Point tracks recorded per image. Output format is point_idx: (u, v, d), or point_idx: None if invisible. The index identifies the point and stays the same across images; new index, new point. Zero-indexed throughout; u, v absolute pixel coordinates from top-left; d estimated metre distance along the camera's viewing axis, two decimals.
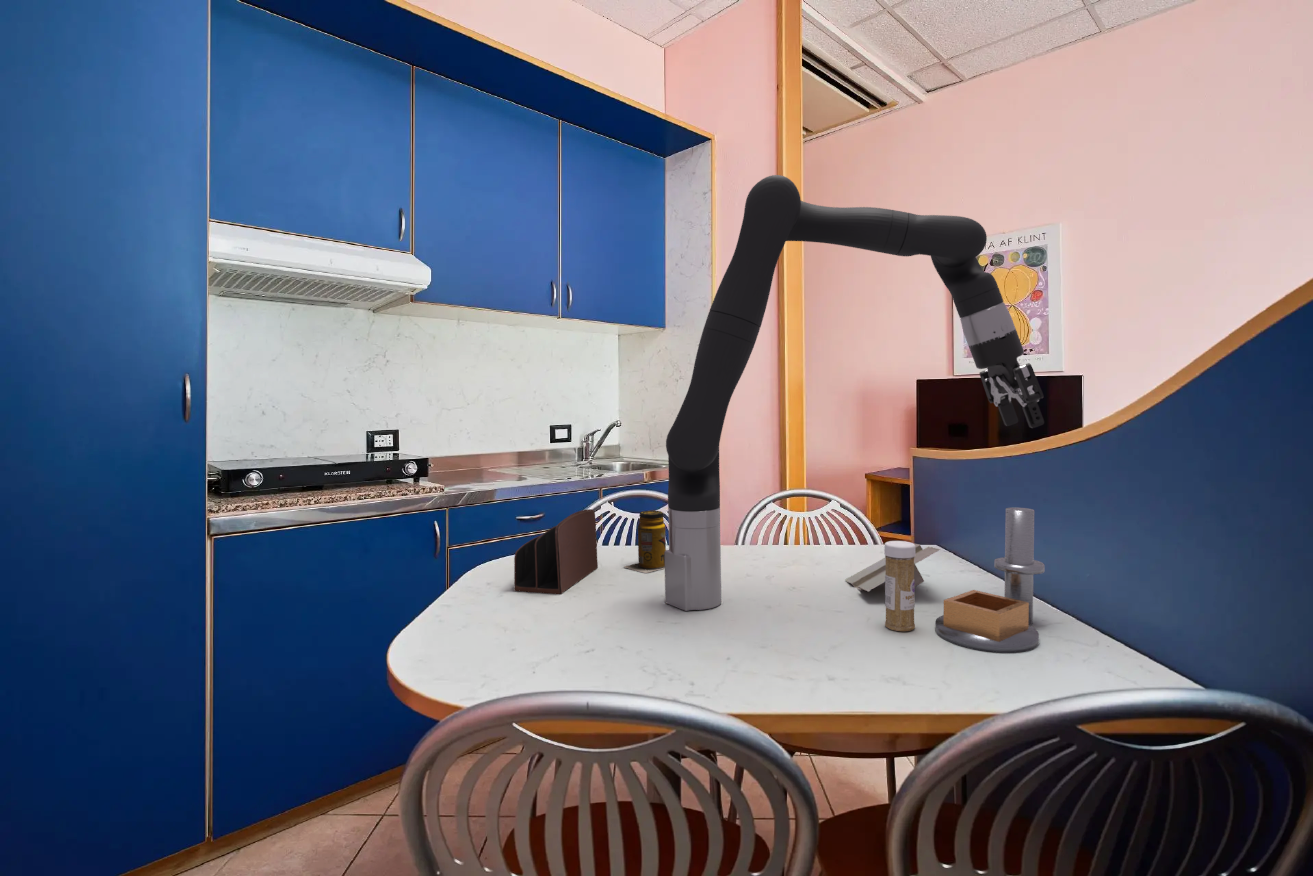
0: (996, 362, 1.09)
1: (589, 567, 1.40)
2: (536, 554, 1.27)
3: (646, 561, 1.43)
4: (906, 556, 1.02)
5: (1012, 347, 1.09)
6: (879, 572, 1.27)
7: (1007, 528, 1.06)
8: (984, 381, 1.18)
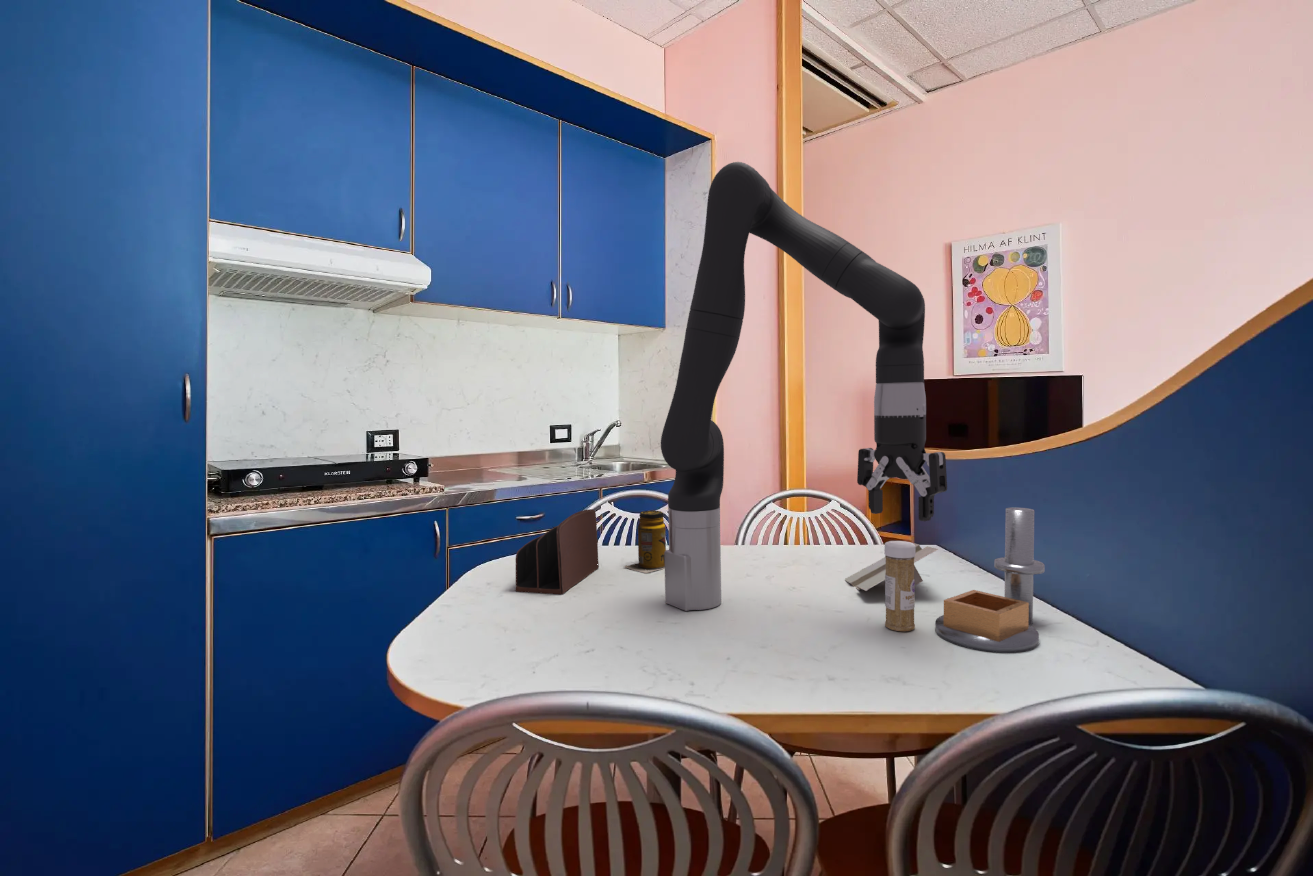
0: (909, 441, 0.99)
1: (590, 567, 1.40)
2: (537, 554, 1.27)
3: (646, 561, 1.43)
4: (906, 556, 1.02)
5: (924, 431, 1.00)
6: (878, 572, 1.27)
7: (1007, 528, 1.06)
8: (863, 459, 1.07)
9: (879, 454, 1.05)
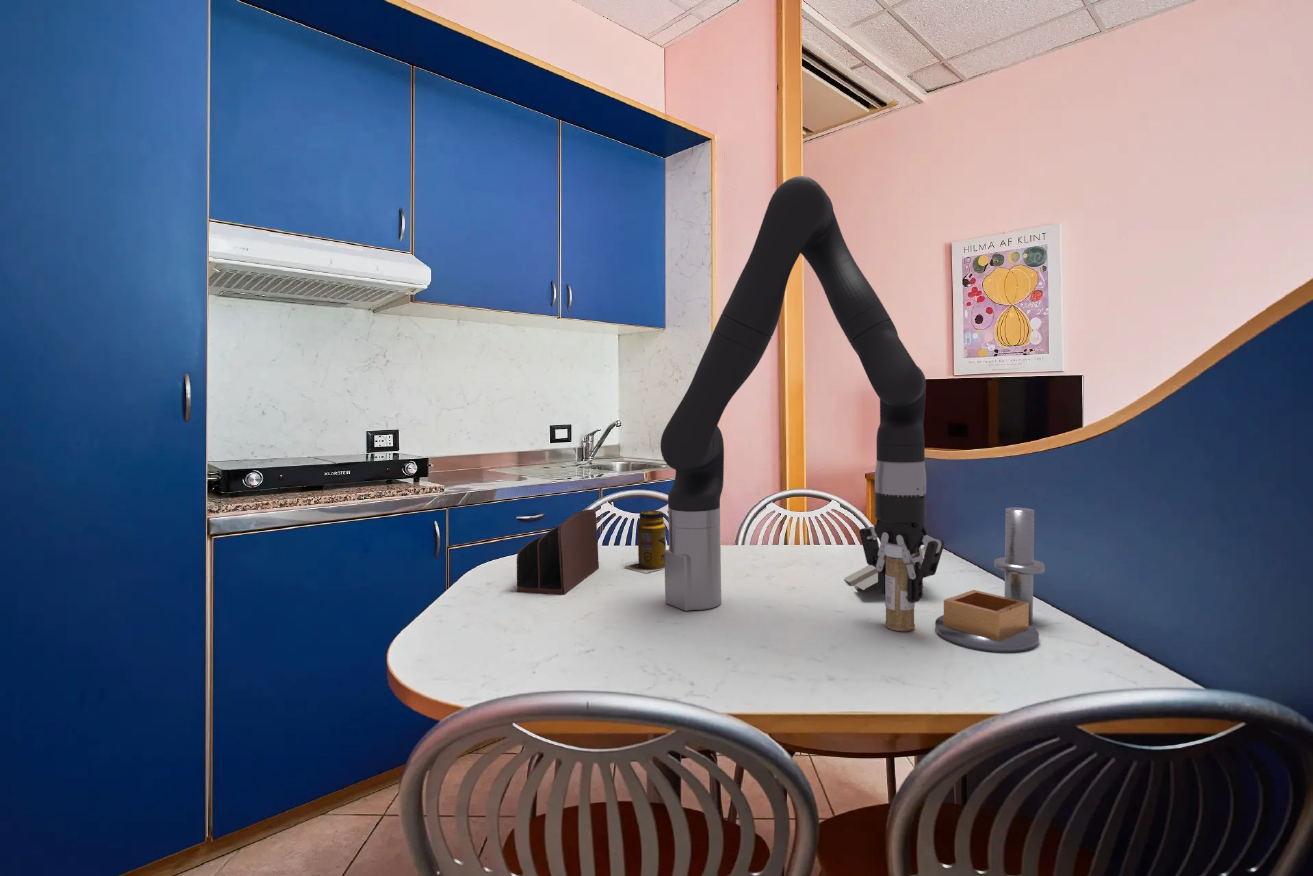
0: (910, 521, 1.00)
1: (591, 567, 1.40)
2: (538, 554, 1.26)
3: (646, 561, 1.43)
4: None
5: (924, 509, 1.01)
6: (877, 571, 1.28)
7: (1007, 528, 1.06)
8: (866, 539, 1.08)
9: (879, 529, 1.06)
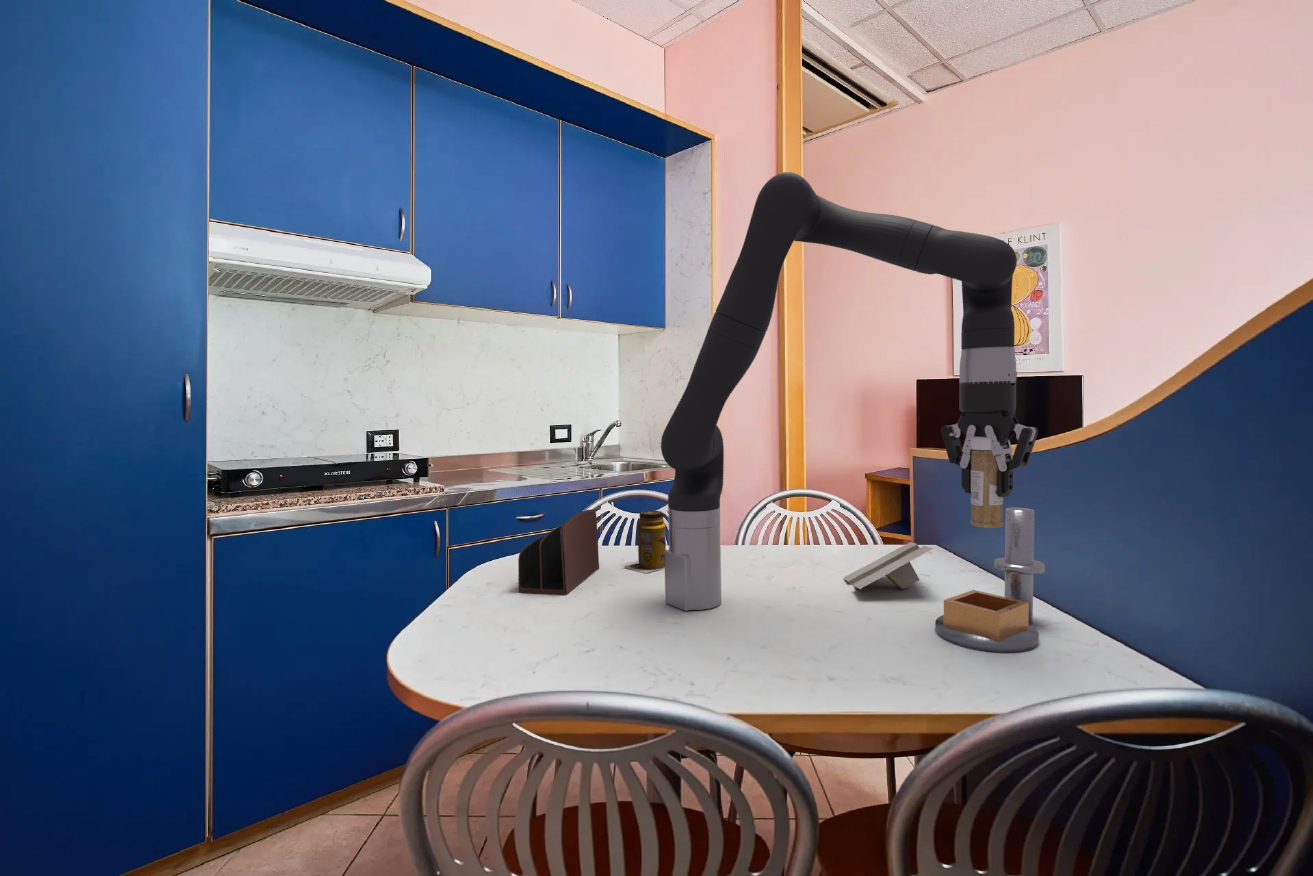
0: (1001, 408, 0.95)
1: (592, 567, 1.40)
2: (540, 555, 1.26)
3: (646, 561, 1.43)
4: None
5: (1015, 398, 0.96)
6: (876, 570, 1.28)
7: (1007, 528, 1.06)
8: (948, 436, 1.03)
9: (964, 423, 1.00)
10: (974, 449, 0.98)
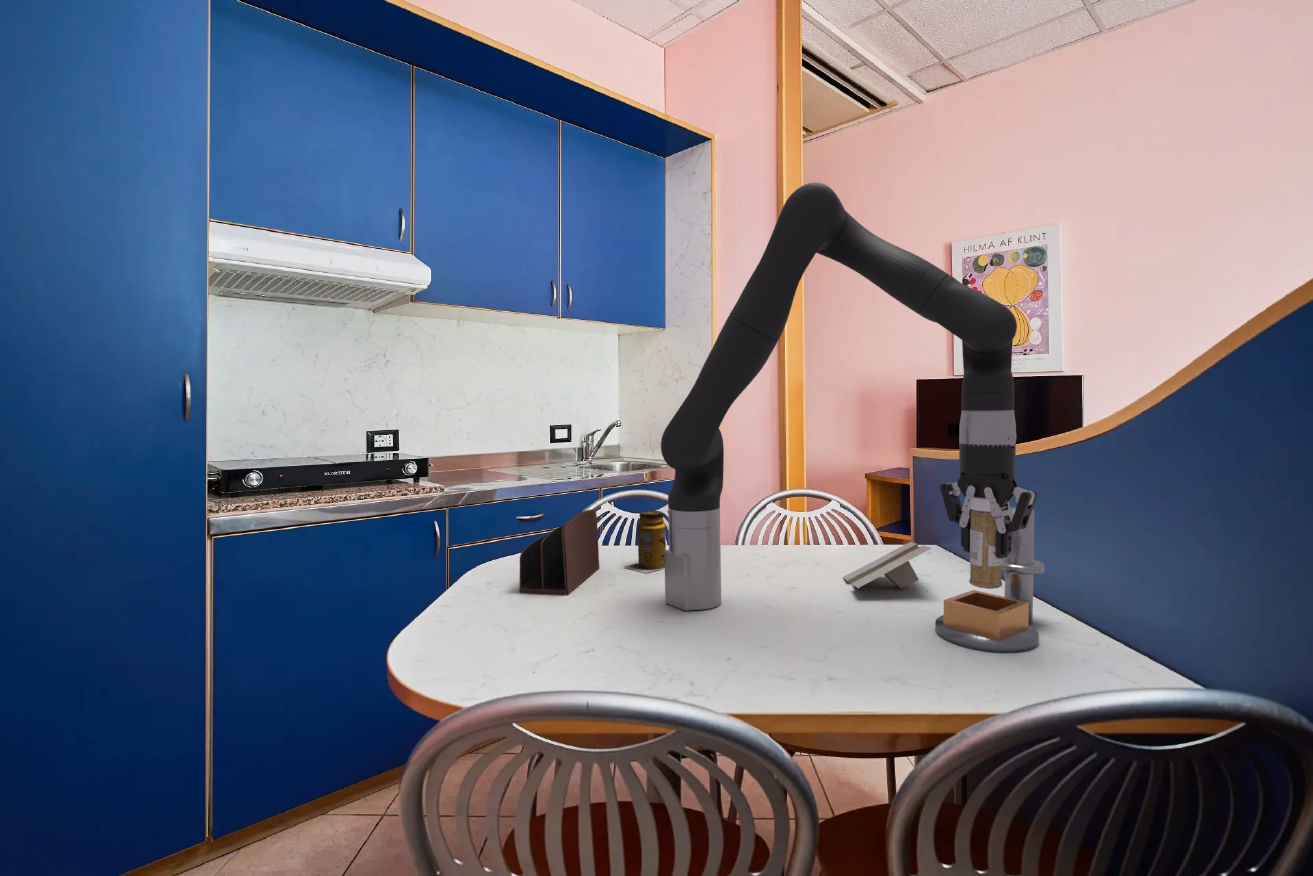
0: (1000, 471, 0.95)
1: (592, 567, 1.40)
2: (542, 555, 1.26)
3: (646, 561, 1.43)
4: None
5: (1014, 460, 0.97)
6: (875, 570, 1.29)
7: None
8: (948, 494, 1.03)
9: (963, 483, 1.01)
10: (973, 510, 0.99)
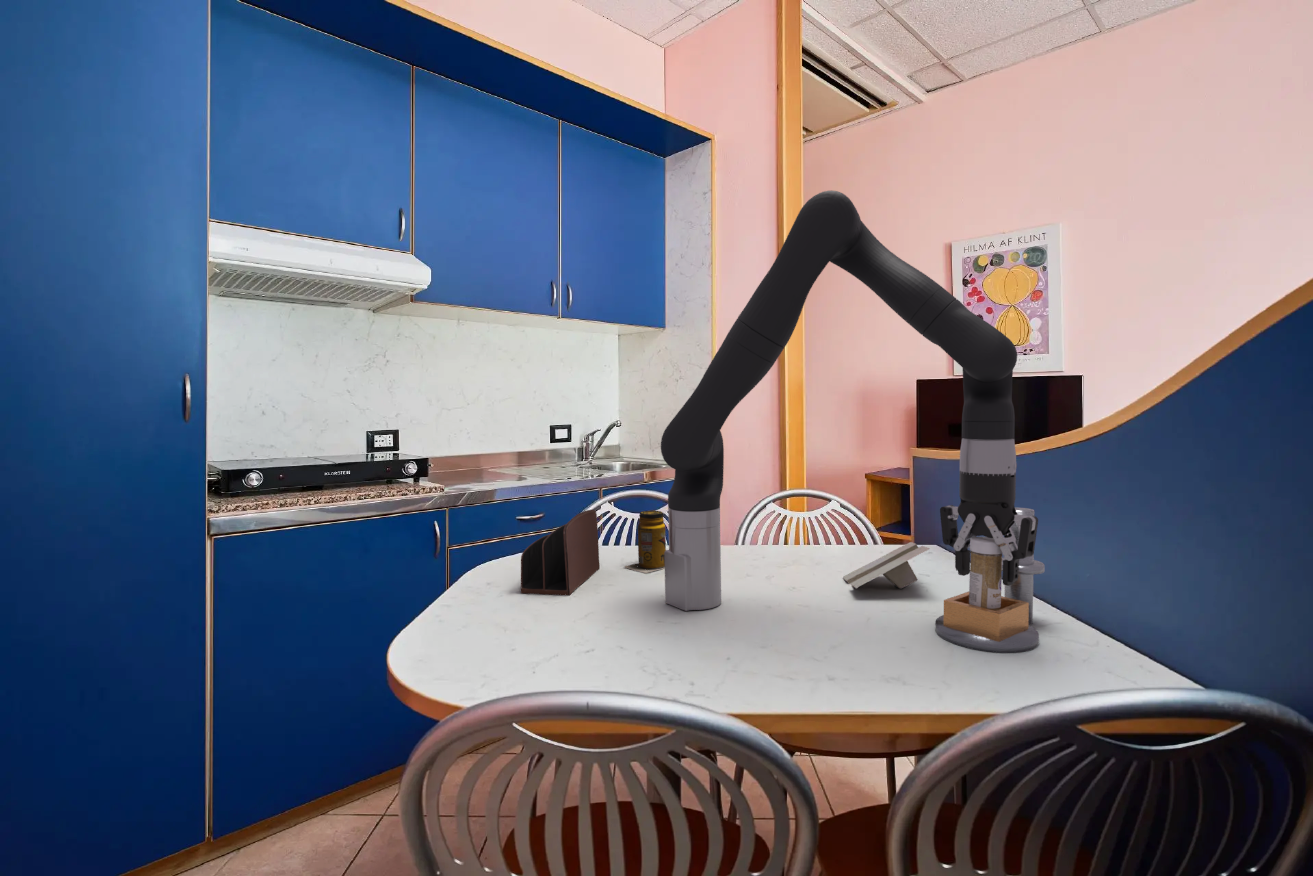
0: (1000, 501, 0.96)
1: (592, 568, 1.40)
2: (543, 555, 1.26)
3: (646, 561, 1.43)
4: (995, 552, 0.98)
5: (1014, 489, 0.97)
6: (874, 570, 1.29)
7: None
8: (946, 518, 1.04)
9: (964, 510, 1.01)
10: (974, 551, 1.00)
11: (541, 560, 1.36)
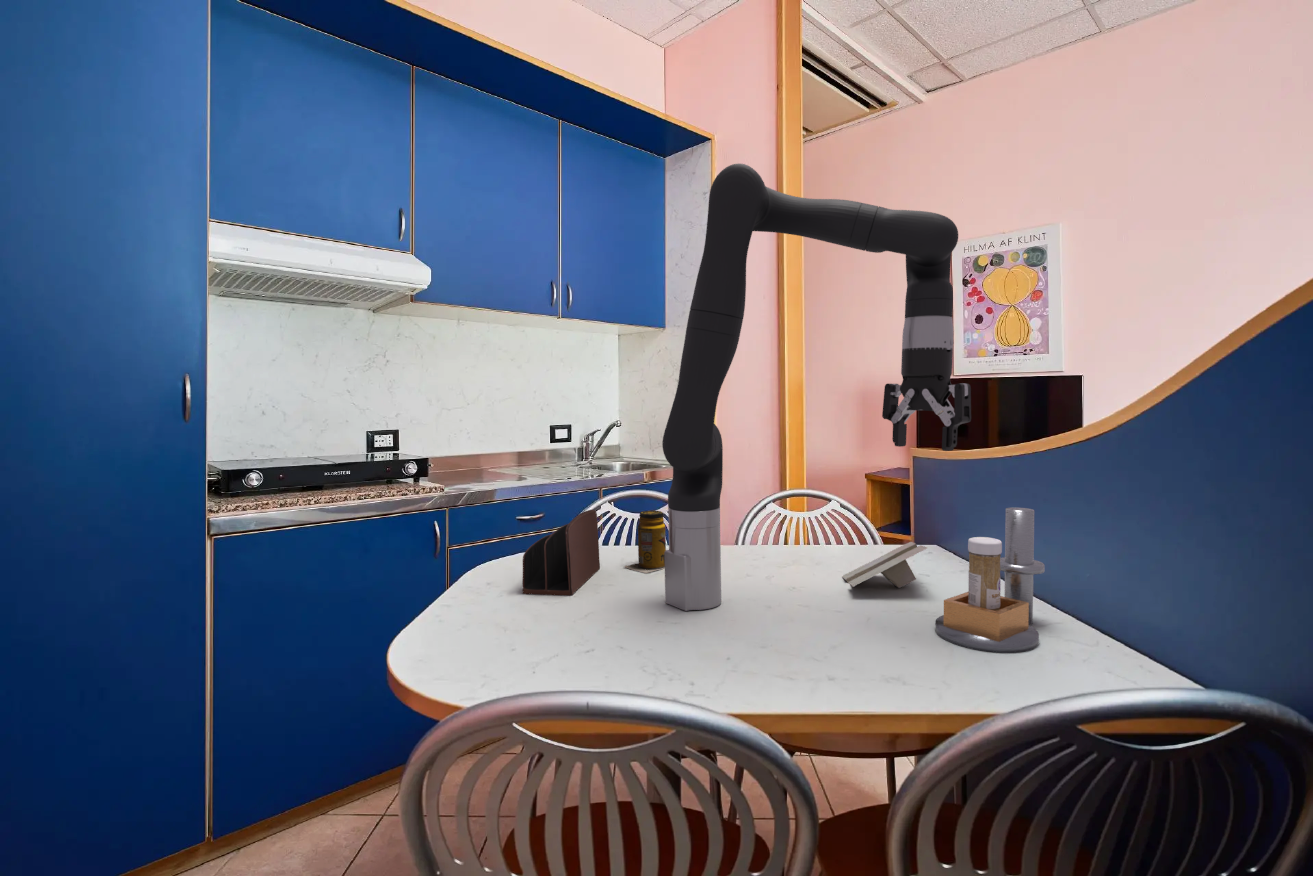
0: (936, 373, 1.03)
1: (593, 568, 1.40)
2: (545, 556, 1.25)
3: (646, 561, 1.43)
4: (993, 553, 0.98)
5: (951, 364, 1.04)
6: (873, 569, 1.29)
7: (1007, 528, 1.06)
8: (889, 394, 1.11)
9: (905, 388, 1.08)
10: (972, 552, 1.00)
11: (542, 560, 1.35)
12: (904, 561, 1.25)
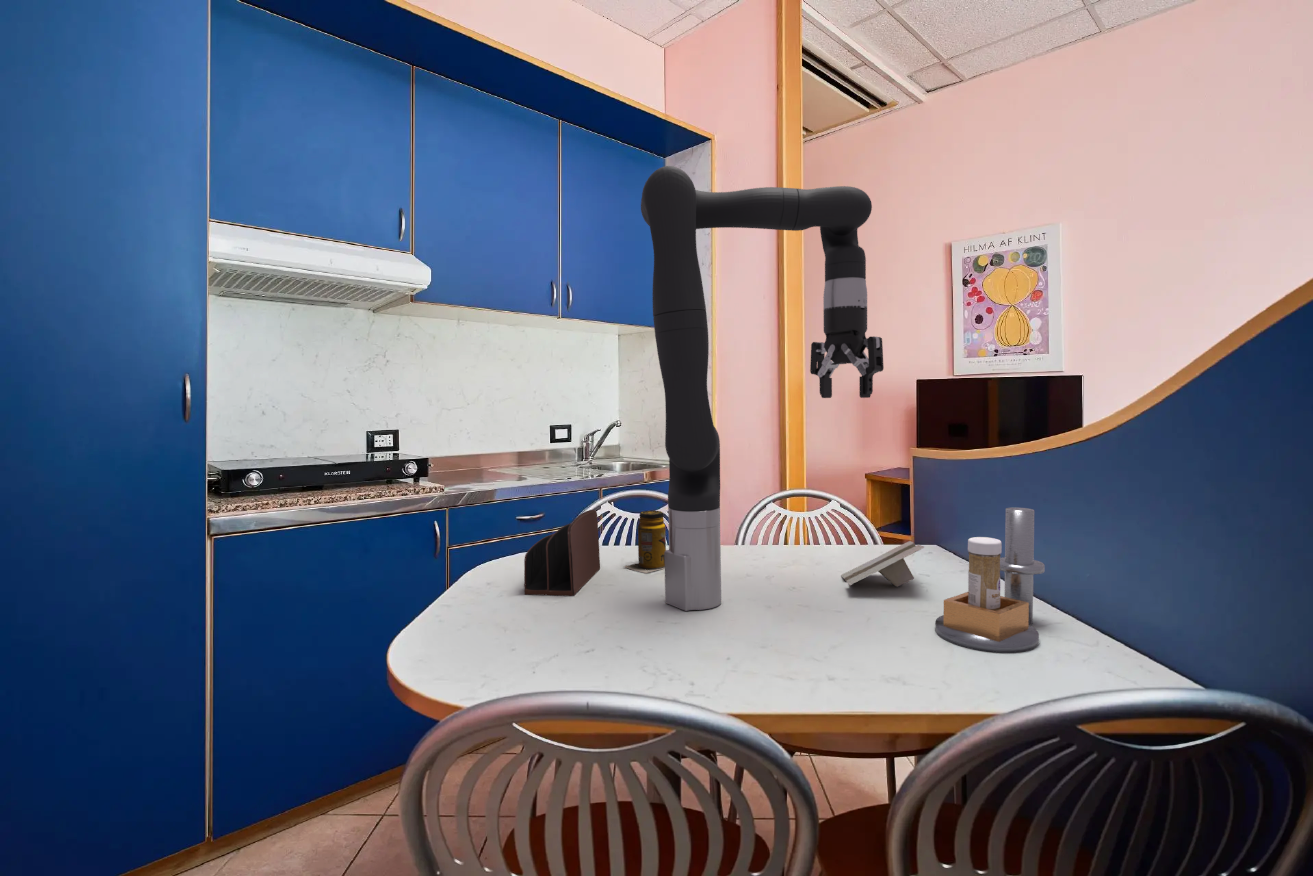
0: (852, 328, 1.15)
1: (594, 568, 1.39)
2: (547, 556, 1.25)
3: (646, 561, 1.43)
4: (993, 553, 0.98)
5: (865, 320, 1.16)
6: (872, 568, 1.30)
7: (1007, 528, 1.06)
8: (815, 351, 1.23)
9: (828, 344, 1.21)
10: (972, 552, 1.00)
11: (543, 561, 1.35)
12: (902, 560, 1.25)
